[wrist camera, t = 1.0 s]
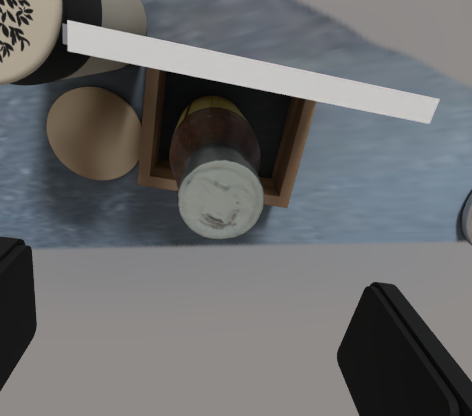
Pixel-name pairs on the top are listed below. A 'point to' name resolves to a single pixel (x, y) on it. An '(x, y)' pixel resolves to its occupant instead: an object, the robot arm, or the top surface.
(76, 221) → the top surface
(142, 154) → the wooden open box
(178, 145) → the sauce bottle
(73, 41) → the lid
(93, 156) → the disc
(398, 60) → the top surface
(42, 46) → the stoneware storage canister
